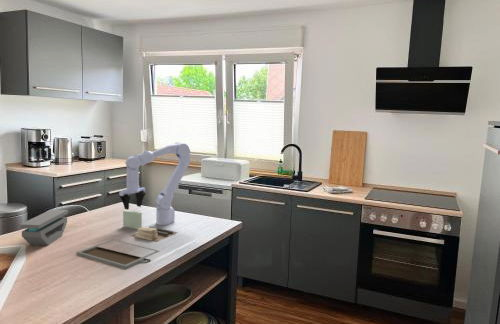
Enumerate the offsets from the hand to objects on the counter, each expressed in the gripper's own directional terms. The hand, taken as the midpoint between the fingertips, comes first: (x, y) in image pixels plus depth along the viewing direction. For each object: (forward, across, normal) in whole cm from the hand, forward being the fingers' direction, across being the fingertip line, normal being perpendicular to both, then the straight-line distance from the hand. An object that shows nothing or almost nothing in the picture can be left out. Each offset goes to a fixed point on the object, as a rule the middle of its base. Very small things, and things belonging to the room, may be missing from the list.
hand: (132, 207), depth 190 cm
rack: (+10, -2, -18) cm, 21 cm away
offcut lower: (+9, -8, -18) cm, 22 cm away
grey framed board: (+11, -27, -25) cm, 38 cm away
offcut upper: (+7, -8, -19) cm, 22 cm away
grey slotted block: (+11, -36, +15) cm, 40 cm away
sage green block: (+10, -2, -1) cm, 11 cm away
